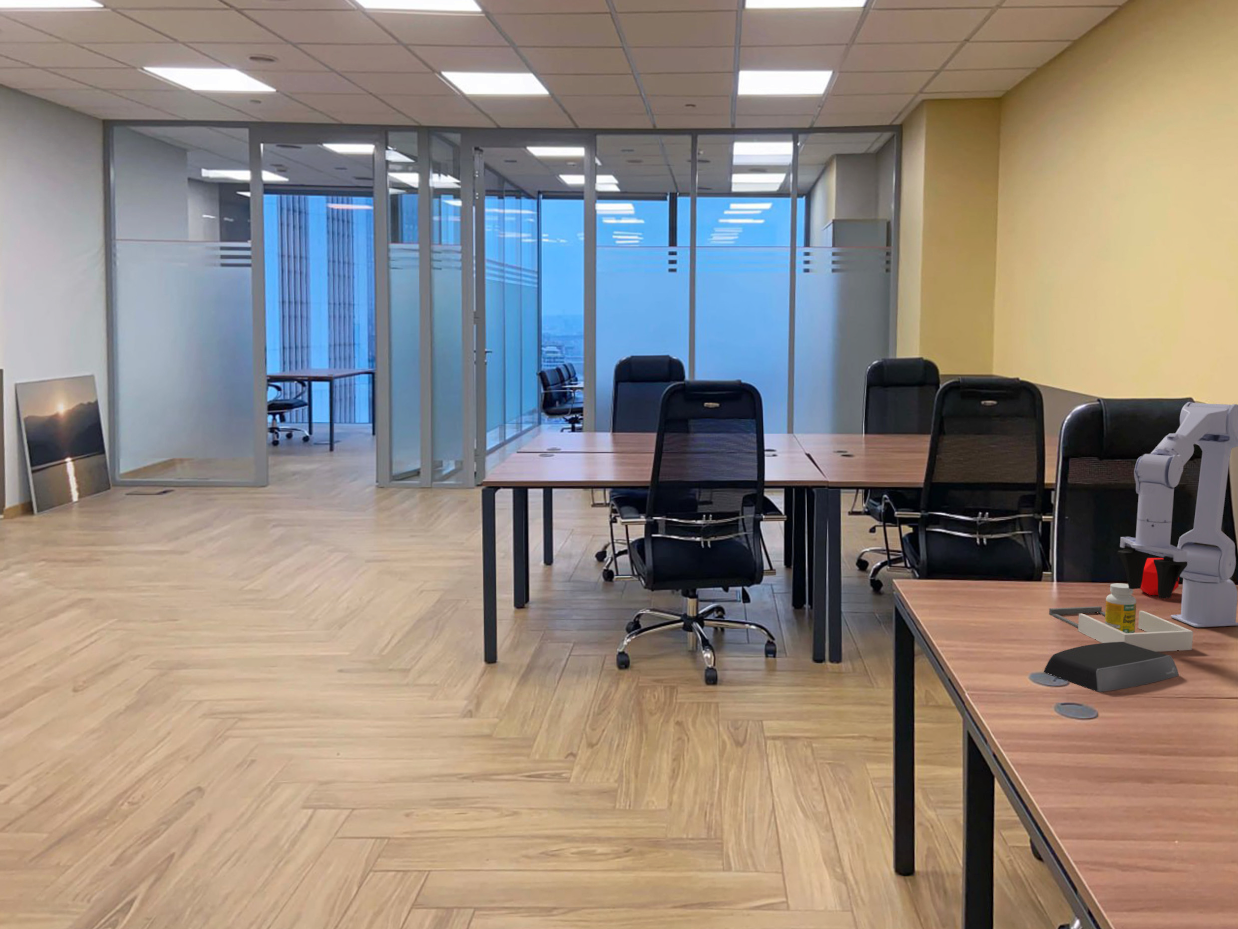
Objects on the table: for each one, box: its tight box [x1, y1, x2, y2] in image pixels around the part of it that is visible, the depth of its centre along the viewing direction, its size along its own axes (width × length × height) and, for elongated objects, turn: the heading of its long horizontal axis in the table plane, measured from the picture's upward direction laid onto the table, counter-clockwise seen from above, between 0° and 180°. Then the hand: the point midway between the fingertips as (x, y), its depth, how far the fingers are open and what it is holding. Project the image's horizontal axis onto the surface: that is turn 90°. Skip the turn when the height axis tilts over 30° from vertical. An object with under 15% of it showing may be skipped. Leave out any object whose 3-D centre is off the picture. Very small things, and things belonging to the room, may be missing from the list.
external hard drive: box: [1043, 642, 1179, 693], centre depth 187 cm, size 13×19×4 cm
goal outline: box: [1048, 605, 1105, 629], centre depth 222 cm, size 11×10×1 cm
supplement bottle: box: [1104, 582, 1137, 633], centre depth 211 cm, size 5×5×10 cm
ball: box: [1139, 557, 1180, 596], centre depth 243 cm, size 8×8×8 cm
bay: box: [1077, 610, 1194, 653], centre depth 207 cm, size 14×15×4 cm
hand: (1149, 593), depth 201 cm, fingers open, 7 cm apart
